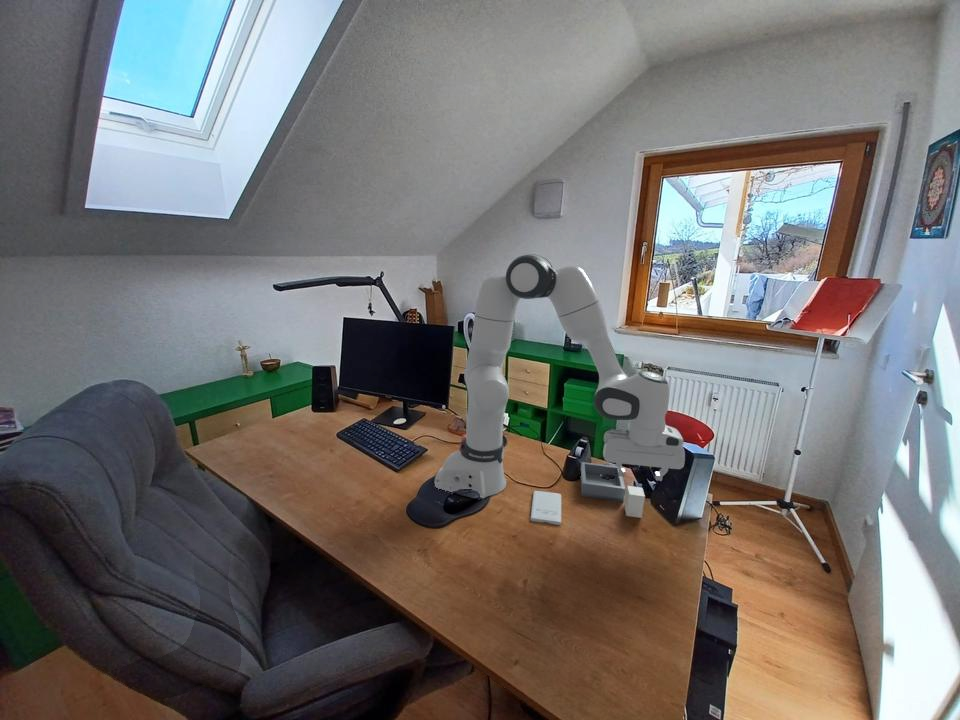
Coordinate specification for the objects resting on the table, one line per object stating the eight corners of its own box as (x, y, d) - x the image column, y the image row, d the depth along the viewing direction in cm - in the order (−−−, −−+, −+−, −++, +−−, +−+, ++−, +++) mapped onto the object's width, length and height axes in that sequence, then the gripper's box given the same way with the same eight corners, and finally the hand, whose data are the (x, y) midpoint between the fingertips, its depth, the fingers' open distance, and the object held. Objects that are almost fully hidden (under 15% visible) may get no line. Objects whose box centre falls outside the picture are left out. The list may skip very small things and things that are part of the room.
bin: (581, 496, 116) (582, 483, 114) (580, 473, 127) (581, 461, 125) (623, 502, 113) (625, 488, 112) (618, 478, 124) (620, 466, 123)
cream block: (626, 515, 108) (629, 494, 106) (624, 506, 111) (627, 485, 109) (641, 518, 107) (644, 496, 105) (639, 508, 110) (642, 487, 108)
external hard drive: (560, 498, 115) (560, 526, 104) (533, 494, 117) (530, 522, 105) (561, 493, 115) (561, 521, 103) (533, 490, 116) (530, 517, 105)
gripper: (605, 434, 101) (601, 479, 105) (690, 441, 97) (682, 488, 101) (603, 423, 107) (599, 467, 111) (683, 430, 103) (676, 475, 107)
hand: (639, 477), depth 106 cm, fingers open, 8 cm apart
